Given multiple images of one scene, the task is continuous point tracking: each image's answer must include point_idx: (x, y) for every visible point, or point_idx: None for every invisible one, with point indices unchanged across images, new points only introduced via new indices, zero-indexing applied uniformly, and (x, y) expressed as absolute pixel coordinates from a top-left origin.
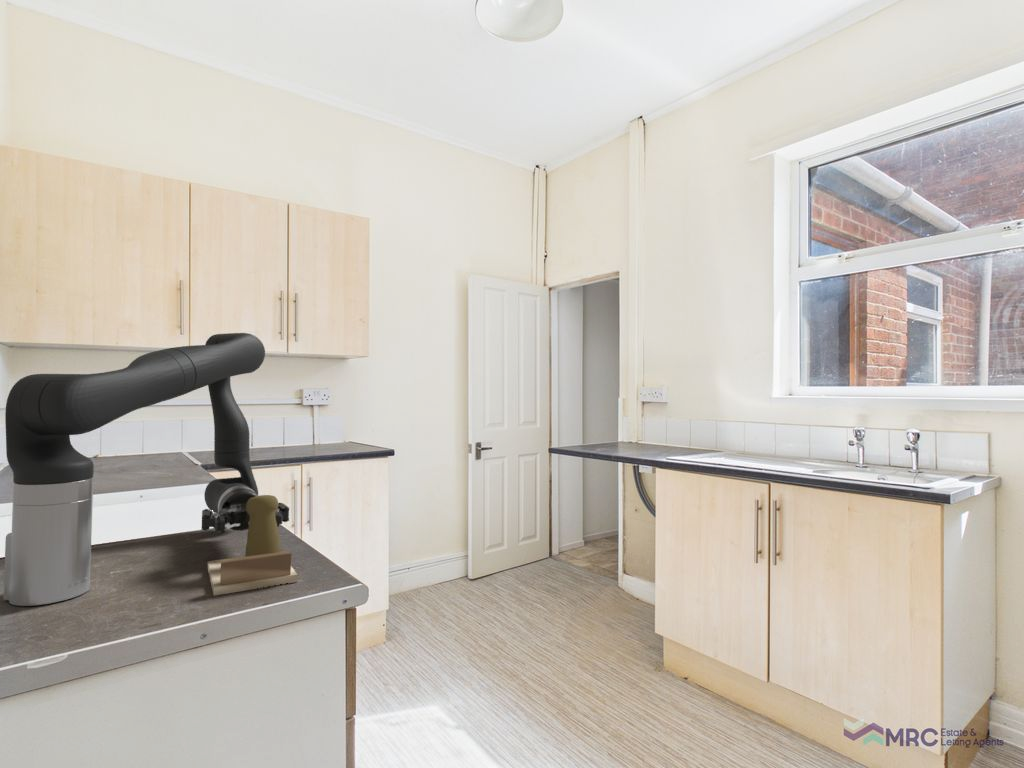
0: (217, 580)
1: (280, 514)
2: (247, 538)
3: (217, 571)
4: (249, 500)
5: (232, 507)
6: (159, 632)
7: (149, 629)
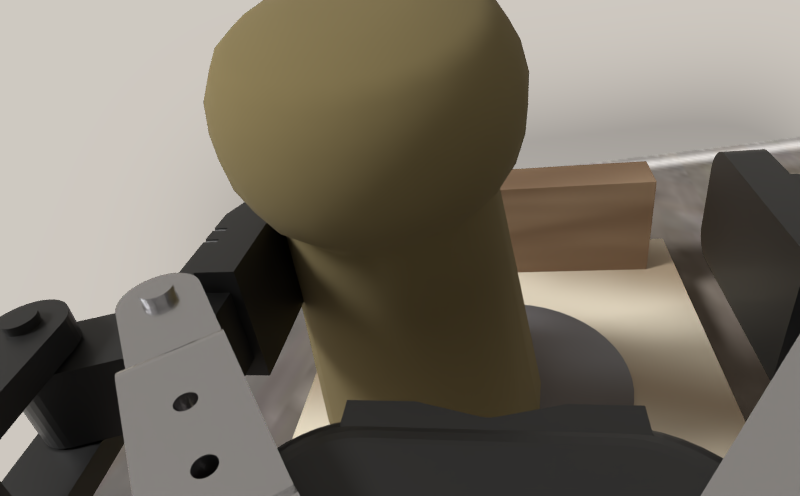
0: (663, 291)
1: (209, 243)
2: (521, 291)
3: (693, 397)
4: (497, 5)
5: (789, 489)
6: (748, 147)
7: (785, 159)
